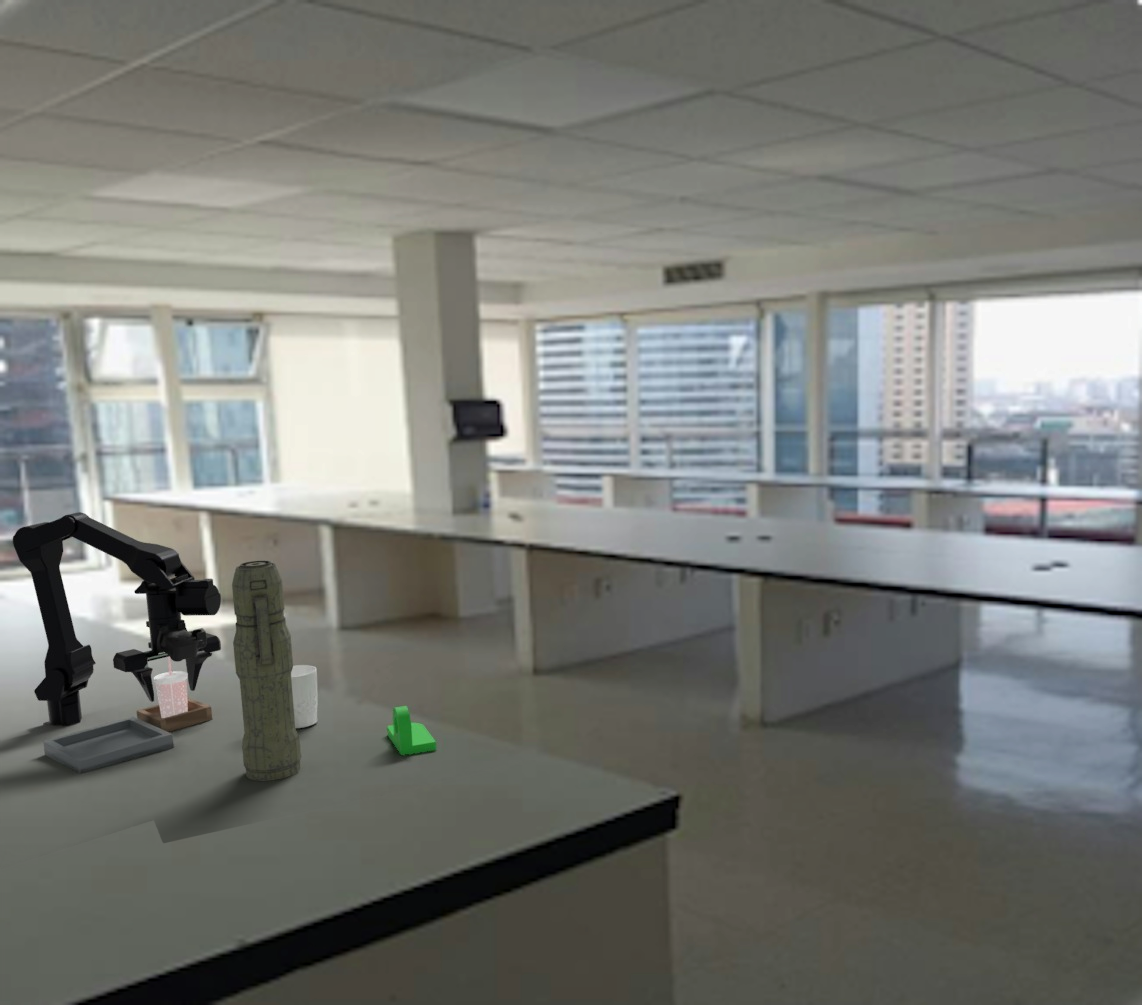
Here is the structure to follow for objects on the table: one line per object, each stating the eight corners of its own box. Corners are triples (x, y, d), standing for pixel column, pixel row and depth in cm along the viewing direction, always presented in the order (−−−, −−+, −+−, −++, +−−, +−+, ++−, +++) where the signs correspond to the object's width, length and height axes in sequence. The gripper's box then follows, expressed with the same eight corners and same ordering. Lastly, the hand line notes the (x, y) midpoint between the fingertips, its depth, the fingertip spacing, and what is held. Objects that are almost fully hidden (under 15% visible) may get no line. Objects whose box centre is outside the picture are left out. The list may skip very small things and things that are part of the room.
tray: (44, 754, 183) (43, 741, 183) (134, 729, 195) (133, 716, 194) (80, 775, 172) (79, 761, 172) (173, 747, 184) (172, 733, 183)
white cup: (309, 730, 189) (304, 677, 188) (269, 729, 191) (265, 676, 190) (327, 716, 197) (323, 665, 196) (289, 715, 198) (285, 664, 197)
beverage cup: (192, 714, 202) (185, 644, 200) (191, 723, 196) (184, 651, 195) (158, 718, 200) (151, 648, 198) (157, 728, 194) (149, 655, 193)
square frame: (137, 723, 198) (136, 710, 198) (187, 709, 205) (186, 696, 205) (161, 733, 191) (160, 720, 191) (212, 719, 198) (211, 706, 198)
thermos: (254, 794, 161) (234, 572, 156) (239, 771, 171) (219, 561, 166) (311, 781, 165) (293, 564, 160) (292, 759, 175) (275, 554, 171)
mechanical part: (436, 752, 175) (433, 707, 174) (401, 759, 173) (398, 712, 172) (420, 731, 187) (418, 688, 186) (387, 736, 184) (384, 693, 183)
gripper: (134, 631, 183) (143, 717, 185) (231, 611, 197) (238, 690, 199) (107, 623, 191) (116, 705, 193) (203, 604, 204) (210, 680, 206)
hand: (172, 695), depth 198 cm, fingers closed on beverage cup, 8 cm apart
